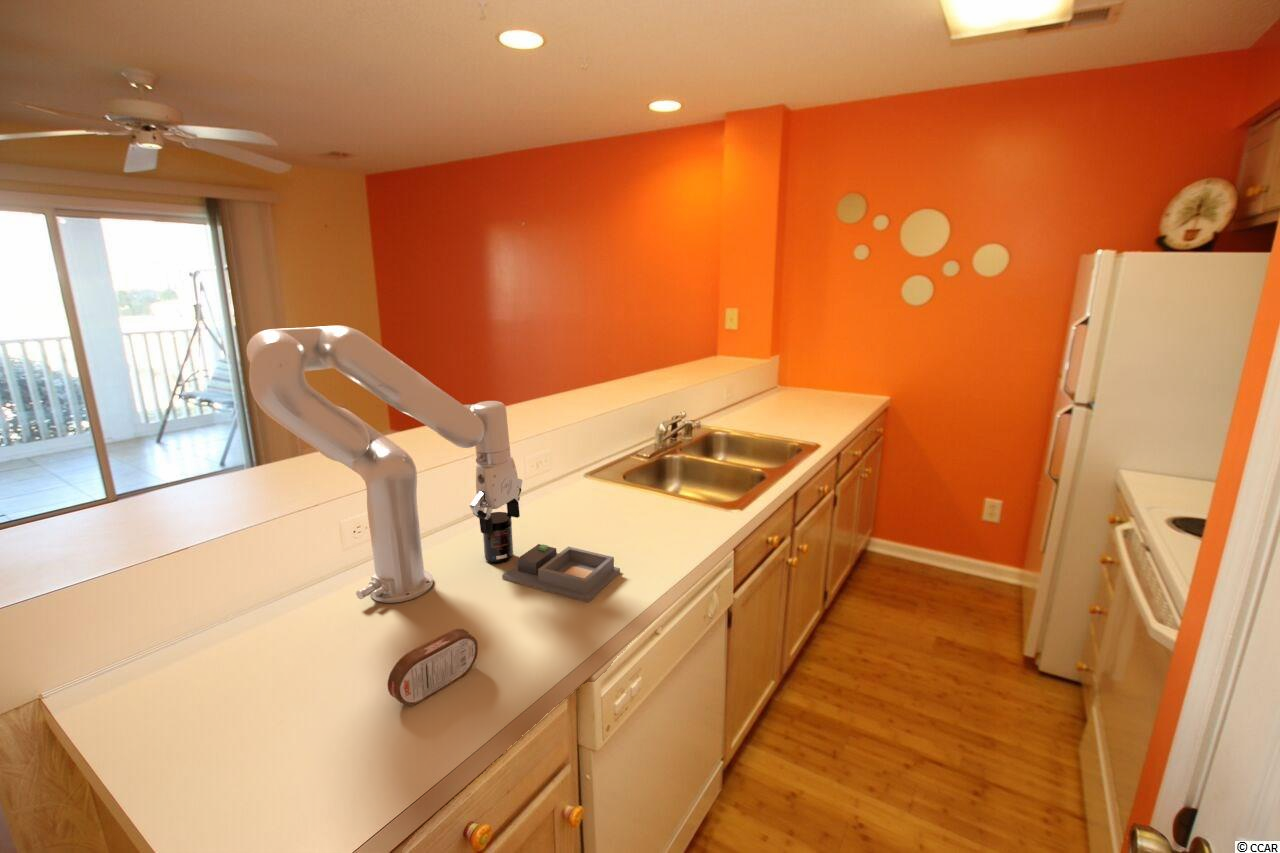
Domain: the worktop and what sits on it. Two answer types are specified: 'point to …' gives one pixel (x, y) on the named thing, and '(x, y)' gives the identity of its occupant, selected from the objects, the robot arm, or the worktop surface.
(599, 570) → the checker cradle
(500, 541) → the supplement container
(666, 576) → the worktop surface
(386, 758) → the worktop surface
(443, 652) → the tin
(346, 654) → the worktop surface
